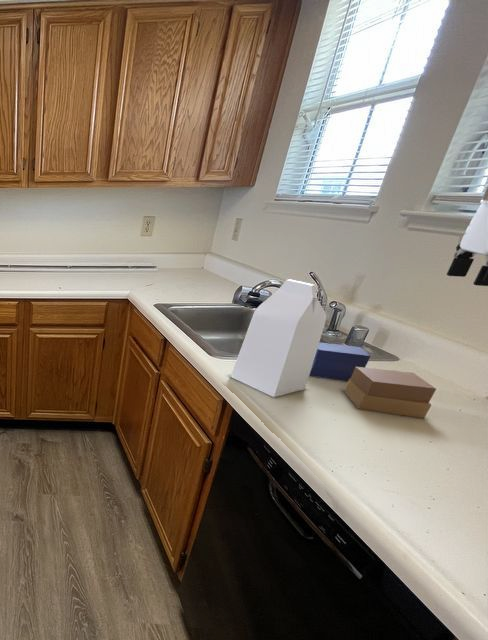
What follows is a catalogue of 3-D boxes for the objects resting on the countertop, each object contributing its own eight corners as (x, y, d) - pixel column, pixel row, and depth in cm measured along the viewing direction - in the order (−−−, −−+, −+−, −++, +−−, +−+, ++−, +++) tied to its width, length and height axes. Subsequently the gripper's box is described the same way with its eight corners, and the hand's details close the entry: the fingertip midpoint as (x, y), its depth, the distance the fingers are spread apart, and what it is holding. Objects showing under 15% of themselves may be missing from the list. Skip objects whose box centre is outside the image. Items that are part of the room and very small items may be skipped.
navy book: (356, 355, 111) (360, 346, 110) (366, 365, 106) (370, 355, 104) (308, 349, 114) (311, 341, 113) (315, 358, 109) (318, 349, 108)
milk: (230, 376, 110) (259, 278, 99) (260, 369, 114) (291, 275, 103) (273, 397, 100) (311, 290, 89) (305, 388, 104) (344, 286, 93)
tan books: (403, 399, 100) (417, 373, 97) (424, 418, 92) (439, 390, 89) (343, 390, 103) (354, 365, 100) (357, 408, 96) (370, 381, 93)
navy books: (349, 372, 113) (356, 355, 111) (359, 383, 107) (367, 365, 105) (300, 365, 117) (306, 349, 115) (308, 376, 111) (314, 358, 109)
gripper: (572, 197, 75) (520, 291, 83) (505, 194, 90) (466, 274, 97) (516, 197, 78) (471, 288, 85) (460, 194, 92) (426, 271, 100)
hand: (468, 280), depth 91 cm, fingers open, 9 cm apart
